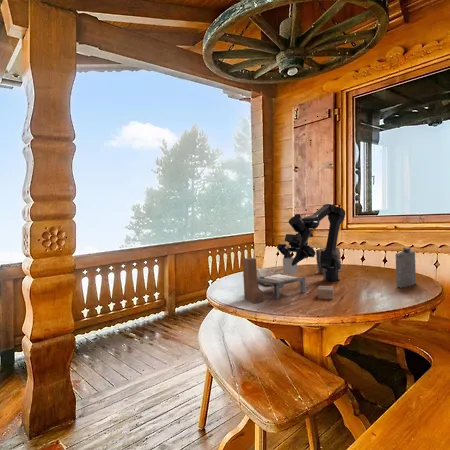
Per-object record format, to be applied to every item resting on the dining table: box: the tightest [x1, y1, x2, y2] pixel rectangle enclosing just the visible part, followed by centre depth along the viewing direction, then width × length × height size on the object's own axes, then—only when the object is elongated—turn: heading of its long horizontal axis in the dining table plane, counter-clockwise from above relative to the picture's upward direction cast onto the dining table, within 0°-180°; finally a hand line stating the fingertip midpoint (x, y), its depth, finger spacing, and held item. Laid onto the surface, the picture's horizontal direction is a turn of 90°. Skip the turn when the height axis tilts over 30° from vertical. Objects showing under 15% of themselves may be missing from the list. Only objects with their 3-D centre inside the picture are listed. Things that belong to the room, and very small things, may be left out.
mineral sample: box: [315, 245, 343, 275], centre depth 186 cm, size 17×4×15 cm, turn 108°
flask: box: [395, 247, 417, 288], centre depth 147 cm, size 4×14×18 cm, turn 124°
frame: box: [257, 272, 306, 300], centre depth 146 cm, size 18×16×7 cm
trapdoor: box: [260, 273, 297, 288], centre depth 145 cm, size 12×12×3 cm
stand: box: [317, 285, 335, 300], centre depth 135 cm, size 6×6×4 cm
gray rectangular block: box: [282, 256, 298, 276], centre depth 144 cm, size 4×4×7 cm
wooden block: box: [242, 257, 265, 304], centre depth 134 cm, size 9×4×18 cm, turn 27°
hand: (288, 264), depth 143 cm, fingers closed on gray rectangular block, 4 cm apart
